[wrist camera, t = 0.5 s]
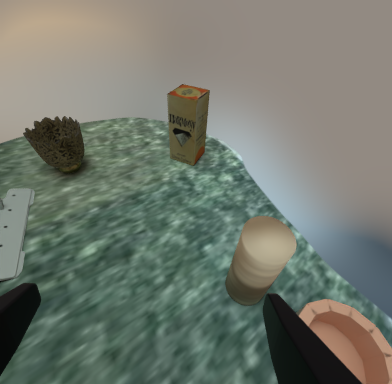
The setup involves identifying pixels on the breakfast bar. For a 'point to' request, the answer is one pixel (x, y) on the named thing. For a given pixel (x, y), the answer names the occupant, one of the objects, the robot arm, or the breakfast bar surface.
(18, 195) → the metal bracket
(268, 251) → the birch peg
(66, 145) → the brown speckled footed container
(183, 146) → the shoe polish box
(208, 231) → the breakfast bar surface
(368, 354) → the terracotta cup
